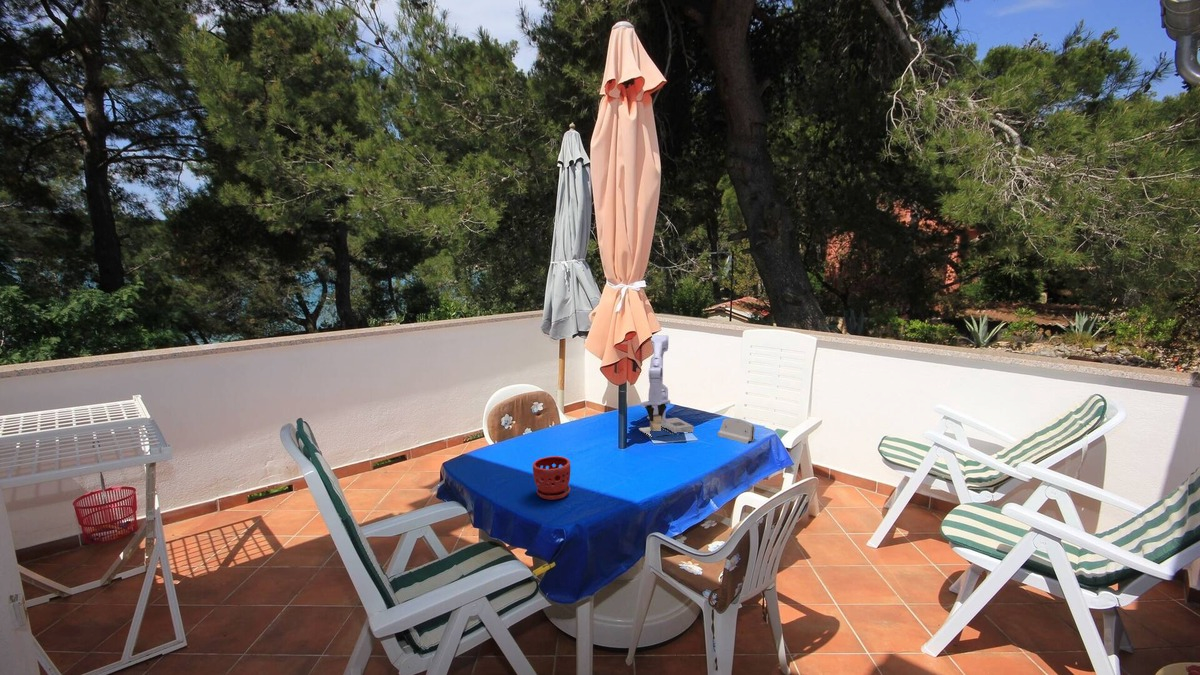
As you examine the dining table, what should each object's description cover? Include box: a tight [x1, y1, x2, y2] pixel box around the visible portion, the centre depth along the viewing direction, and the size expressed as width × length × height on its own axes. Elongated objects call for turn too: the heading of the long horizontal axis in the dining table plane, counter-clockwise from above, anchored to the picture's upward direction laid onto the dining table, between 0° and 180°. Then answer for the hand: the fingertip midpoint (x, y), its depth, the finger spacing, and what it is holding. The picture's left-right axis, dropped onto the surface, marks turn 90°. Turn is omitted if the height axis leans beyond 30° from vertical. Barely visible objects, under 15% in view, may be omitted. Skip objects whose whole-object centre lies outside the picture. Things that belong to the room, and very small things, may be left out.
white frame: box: [661, 417, 694, 433], centre depth 268 cm, size 16×10×3 cm, turn 21°
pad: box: [638, 426, 652, 438], centre depth 263 cm, size 14×10×1 cm
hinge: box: [717, 417, 756, 445], centre depth 253 cm, size 17×5×10 cm, turn 43°
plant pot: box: [532, 455, 571, 501], centre depth 193 cm, size 13×13×12 cm
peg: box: [649, 414, 662, 431], centre depth 261 cm, size 4×4×7 cm
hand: (655, 420), depth 261 cm, fingers closed on peg, 4 cm apart
